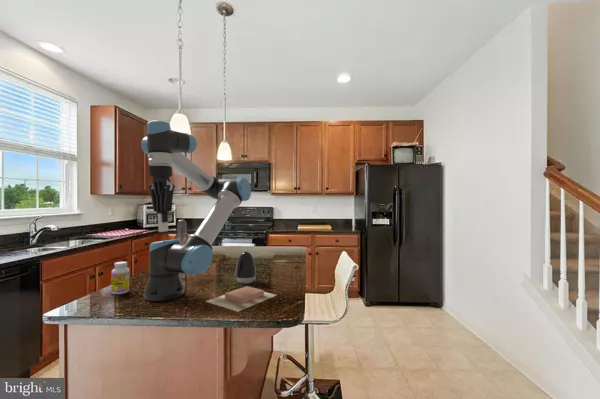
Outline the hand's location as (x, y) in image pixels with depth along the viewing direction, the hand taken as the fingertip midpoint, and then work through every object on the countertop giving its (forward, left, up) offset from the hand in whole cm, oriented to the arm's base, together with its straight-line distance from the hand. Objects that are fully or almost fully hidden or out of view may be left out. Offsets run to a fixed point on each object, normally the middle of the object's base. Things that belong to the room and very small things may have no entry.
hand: (163, 231), depth 101 cm
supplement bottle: (-33, -11, -29) cm, 46 cm away
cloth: (+5, +28, -29) cm, 41 cm away
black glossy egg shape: (-16, +40, -29) cm, 52 cm away
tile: (+7, +24, -27) cm, 37 cm away
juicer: (-48, +16, -29) cm, 59 cm away
